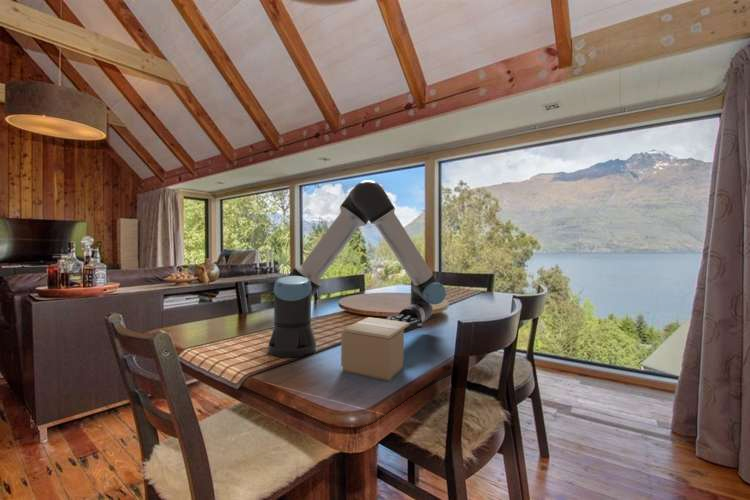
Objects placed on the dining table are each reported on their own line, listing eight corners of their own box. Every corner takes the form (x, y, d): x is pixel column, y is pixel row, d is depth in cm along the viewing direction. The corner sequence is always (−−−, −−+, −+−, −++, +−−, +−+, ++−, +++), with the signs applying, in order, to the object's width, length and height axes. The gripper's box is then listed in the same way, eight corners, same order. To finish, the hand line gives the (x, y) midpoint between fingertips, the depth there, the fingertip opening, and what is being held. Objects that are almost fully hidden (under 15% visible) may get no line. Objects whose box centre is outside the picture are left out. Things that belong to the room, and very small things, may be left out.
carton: (340, 370, 95) (340, 331, 95) (357, 359, 104) (358, 323, 104) (389, 381, 89) (389, 339, 88) (403, 368, 98) (403, 330, 97)
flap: (343, 331, 94) (343, 328, 94) (368, 319, 108) (368, 316, 108) (389, 338, 89) (389, 335, 89) (409, 325, 102) (409, 322, 102)
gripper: (428, 329, 121) (405, 349, 100) (394, 324, 127) (365, 342, 106) (429, 308, 121) (405, 324, 100) (395, 304, 127) (365, 318, 105)
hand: (385, 333), depth 103 cm, fingers closed
